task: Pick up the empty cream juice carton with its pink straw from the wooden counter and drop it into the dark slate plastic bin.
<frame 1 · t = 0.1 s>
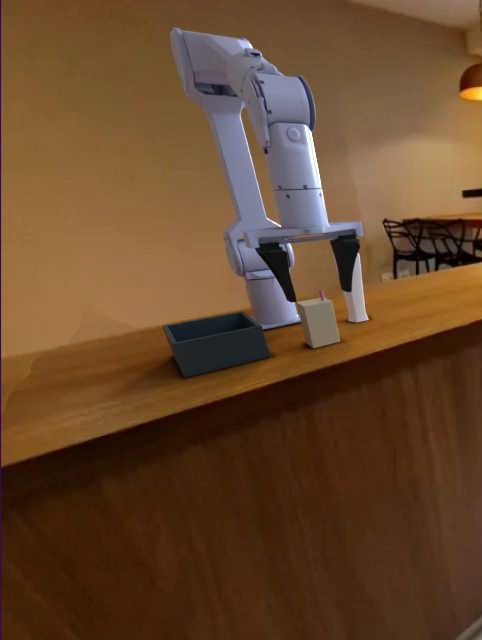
hand: (320, 295, 61), 10 cm above the countertop, tool pointing down, fingers open, 7 cm apart
bin: (221, 356, 68), on the countertop
perfume bottle: (359, 320, 85), on the countertop
juice carton: (323, 342, 73), on the countertop
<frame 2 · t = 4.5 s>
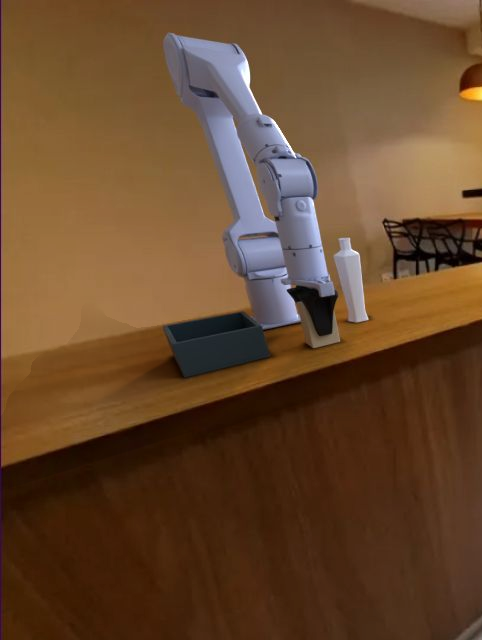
hand: (320, 331, 73), 2 cm above the countertop, tool pointing down, fingers closed on juice carton, 3 cm apart
juice carton: (323, 342, 73), on the countertop, touching gripper
everything else where it was.
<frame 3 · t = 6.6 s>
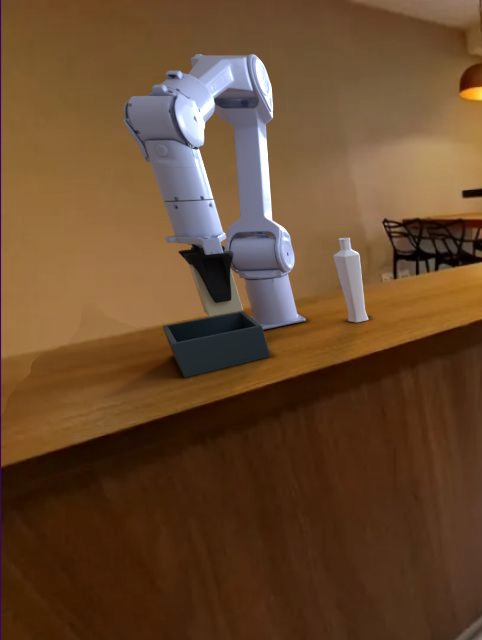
hand: (220, 298, 65), 9 cm above the countertop, tool pointing down, fingers closed on juice carton, 3 cm apart
juice carton: (224, 311, 66), point 7 cm above the countertop, touching gripper
everything else where it was.
when the fingers open (2 cm above the countertop, at t = 8.9 s): juice carton stays where it is, resting on bin.
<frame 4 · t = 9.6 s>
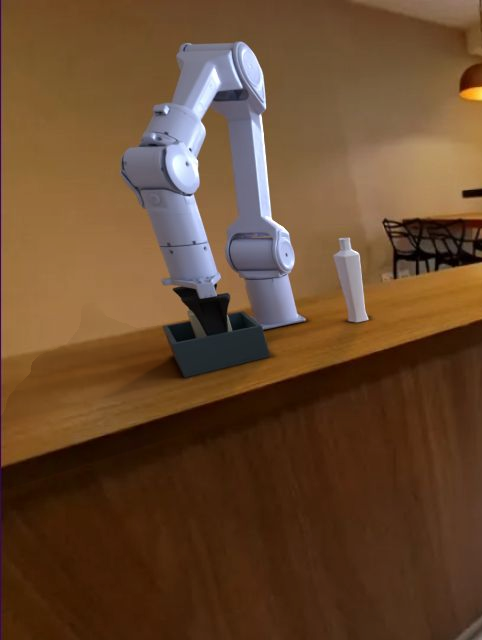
hand: (215, 335, 67), 3 cm above the countertop, tool pointing down, fingers open, 7 cm apart
juice carton: (220, 353, 68), resting on bin
everything else where it was.
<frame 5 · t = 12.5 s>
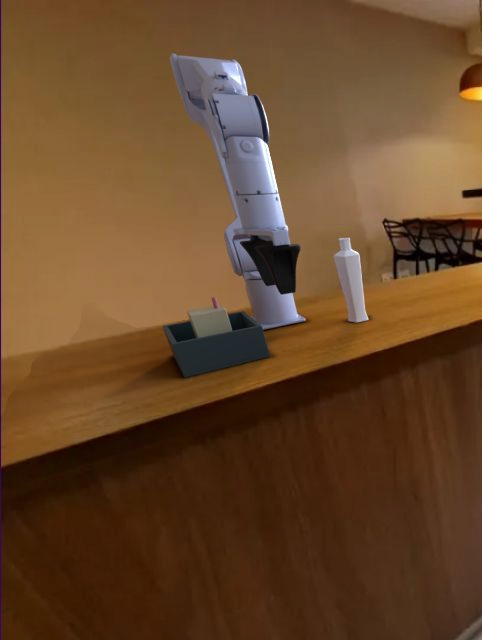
hand: (280, 288, 68), 9 cm above the countertop, tool pointing down, fingers open, 7 cm apart
nothing on the countertop moved.
at the end: juice carton inside the target area in the bin (0.0 cm from its centre), point 0.5 cm above the bin's base; the gripper is holding nothing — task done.
